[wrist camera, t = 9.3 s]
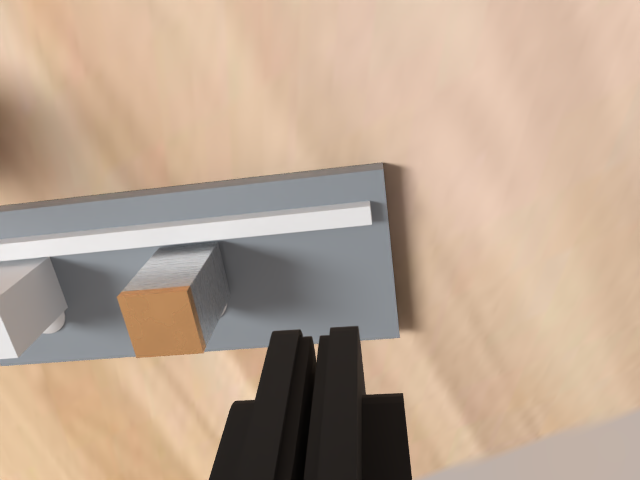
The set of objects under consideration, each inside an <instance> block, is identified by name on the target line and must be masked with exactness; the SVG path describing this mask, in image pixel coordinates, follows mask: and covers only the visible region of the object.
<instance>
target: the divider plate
mask: <svg viewBox="0 0 640 480" xmlns="http://www.w3.org/2000/svg"><path fill="white" fill-rule="evenodd" d="M209 242H218V244H219V248H220V252H221V257H222V261H223V265H224V270H225V274H226V278H227V283H228V287H229V291H230V298H229V300H228V302H227V304H226V306H225V308H224V310H223V313H222V315H221V317H220V319H219V321H218V323H217V325H216V327H215V329H214V332H213V334H212V336H211V338H210V340H209V342H208V344H207V346H206V348H205V351H204V352H206V351H220V350H234V349H249V348H263V347H268V346H269V341H270V337H271V334H272V332H273V331H280V330H297V329H301V331H302V334H303V337H304V336H312V338H313V343H314V344H319V338H320V336H321V335H329V333H330V328H331V327H346V326H358V327H359V334H360V341H361V340H375V339H389V338H400V335H399V325H398V314H397V304H396V294H395V283H394V273H393V263H392V252H391V242H390V232H389V222H388V211H387V201H386V191H385V180H384V170H383V163H374V164H366V165H357V166H348V167H339V168H330V169H321V170H313V171H304V172H295V173H286V174H277V175H268V176H259V177H251V178H242V179H233V180H224V181H215V182H206V183H198V184H189V185H180V186H171V187H162V188H153V189H145V190H136V191H127V192H118V193H109V194H100V195H92V196H83V197H74V198H65V199H56V200H47V201H38V202H30V203H21V204H12V205H3V206H0V365H1V366H9V365H23V364H38V363H52V362H66V361H80V360H94V359H108V358H122V357H136V355H135V352H134V349H133V346H132V343H131V340H130V337H129V333H128V330H127V327H126V324H125V321H124V318H123V315H122V312H121V309H120V306H119V302H118V299H117V296H118V295H119V294H120V293H121V291H122V290H123V289H124V288H125V287H126V286H127V284H128V283H129V282H130V281H131V280H132V279H133V277H134V276H135V275H136V274H137V273H138V272H139V270H140V269H141V268H142V267H143V266H144V265H145V264H146V262H147V261H148V260H149V259H150V258H151V257H152V255H153V254H154V253H155V252H156V251H157V250H158V248H159V247H169V246H179V245H189V244H199V243H209Z"/></svg>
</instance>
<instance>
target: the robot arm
mask: <svg viewBox="0 0 640 480" xmlns="http://www.w3.org/2000/svg"><path fill="white" fill-rule="evenodd" d="M209 480H412V475H411V465H410V455H409V446H408V436H407V427H406V417H405V408H404V398H403V393H395V394H374V395H366V391H365V382H364V372H363V363H362V353H361V344H360V334H359V327H358V326H346V327H331V328H330V333H329V335H321V336H320V338H319V346H318V355H317V363H316V356H315V349H314V343H313V338H312V336H304V337H303V334H302V331H301V329H297V330H280V331H273V332H272V334H271V337H270V341H269V346H268V350H267V354H266V358H265V362H264V366H263V370H262V374H261V378H260V382H259V386H258V390H257V394H256V398H255V400H245V401H235V402H234V403H233V404H232V406H231V408H230V411H229V415H228V418H227V421H226V424H225V428H224V431H223V434H222V438H221V441H220V444H219V448H218V451H217V454H216V458H215V461H214V464H213V468H212V471H211V474H210V478H209Z"/></svg>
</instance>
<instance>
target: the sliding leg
mask: <svg viewBox="0 0 640 480" xmlns="http://www.w3.org/2000/svg"><path fill="white" fill-rule="evenodd" d="M229 298H230V291H229V287H228V283H227V278H226V274H225V270H224V265H223V261H222V257H221V252H220V248H219V244H218V242H209V243H199V244H189V245H179V246H169V247H159V248H158V250H157V251H156V252H155V253H154V254H153V255H152V257H151V258H150V259H149V260H148V261H147V262H146V264H145V265H144V266H143V267H142V268H141V269H140V270H139V272H138V273H137V274H136V275H135V276H134V277H133V279H132V280H131V281H130V282H129V283H128V284H127V286H126V287H125V288H124V289H123V290H122V291H121V293H120V294H119V295H118V296H117V299H118V302H119V306H120V309H121V312H122V315H123V318H124V321H125V324H126V327H127V330H128V333H129V337H130V340H131V343H132V346H133V349H134V352H135V355H136V358H141V357H156V356H170V355H184V354H198V353H204V351H205V348H206V346H207V344H208V342H209V340H210V338H211V336H212V334H213V332H214V329H215V327H216V325H217V323H218V321H219V319H220V317H221V315H222V313H223V310H224V308H225V306H226V304H227V302H228V300H229Z"/></svg>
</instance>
